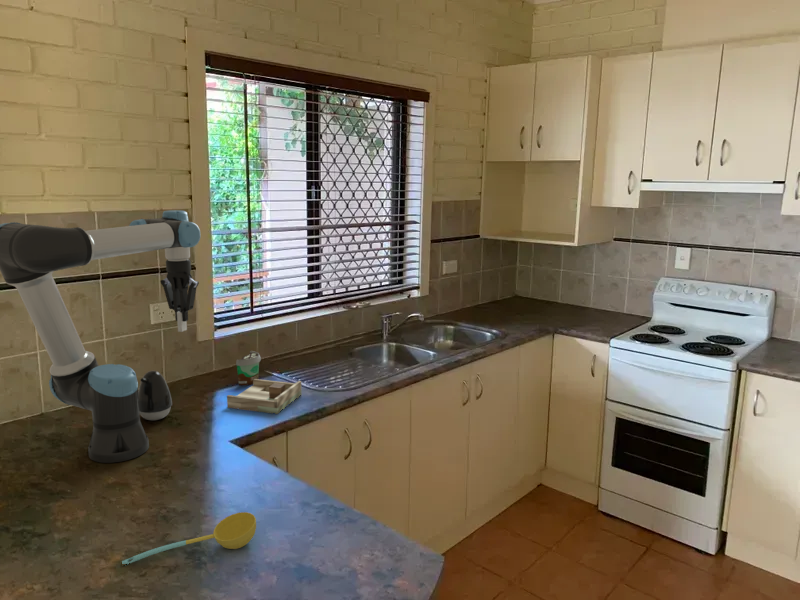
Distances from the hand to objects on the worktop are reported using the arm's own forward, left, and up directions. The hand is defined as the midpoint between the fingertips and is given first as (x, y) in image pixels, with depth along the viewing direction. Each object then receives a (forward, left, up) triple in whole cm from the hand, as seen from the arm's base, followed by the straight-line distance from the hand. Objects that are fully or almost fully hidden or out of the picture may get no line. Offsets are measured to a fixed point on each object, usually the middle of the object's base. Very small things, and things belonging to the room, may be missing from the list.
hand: (182, 330), depth 203 cm
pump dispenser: (-15, +1, -25) cm, 29 cm away
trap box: (+8, -25, -24) cm, 36 cm away
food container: (+24, -11, -25) cm, 36 cm away
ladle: (-72, -51, -25) cm, 92 cm away
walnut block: (+8, -29, -22) cm, 38 cm away
